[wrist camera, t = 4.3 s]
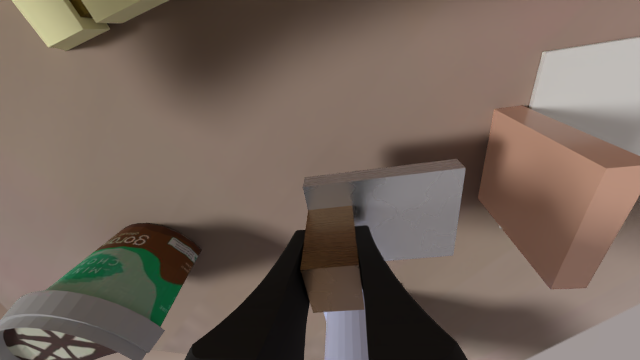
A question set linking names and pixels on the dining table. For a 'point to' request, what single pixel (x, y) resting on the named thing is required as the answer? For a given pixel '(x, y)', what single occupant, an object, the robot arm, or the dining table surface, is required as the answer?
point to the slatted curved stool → (78, 18)
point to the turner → (376, 224)
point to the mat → (593, 90)
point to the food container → (103, 300)
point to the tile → (557, 193)
